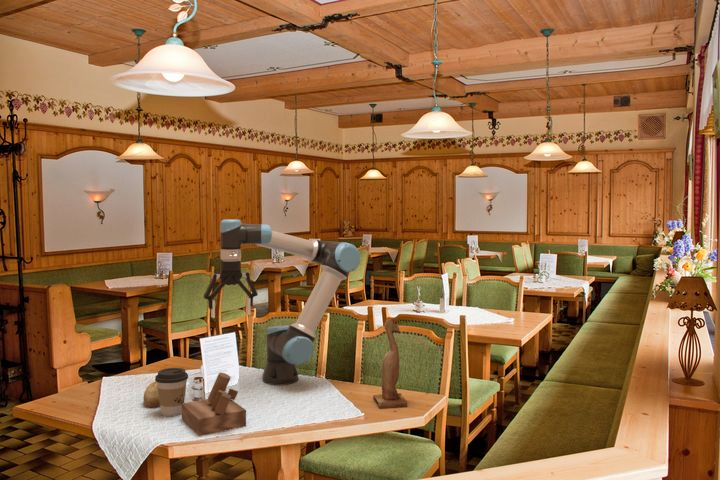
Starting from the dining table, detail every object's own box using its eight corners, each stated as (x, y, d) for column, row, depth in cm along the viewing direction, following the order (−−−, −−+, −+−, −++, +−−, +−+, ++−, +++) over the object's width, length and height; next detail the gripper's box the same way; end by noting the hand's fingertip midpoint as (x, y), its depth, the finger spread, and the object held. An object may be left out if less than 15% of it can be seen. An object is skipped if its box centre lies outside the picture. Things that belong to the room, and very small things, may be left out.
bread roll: (179, 396, 229) (179, 375, 229) (164, 409, 214) (164, 387, 214) (155, 395, 230) (154, 375, 229) (138, 408, 215) (138, 387, 215)
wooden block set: (226, 422, 193) (238, 393, 193) (201, 412, 192) (213, 383, 192) (233, 401, 211) (244, 375, 210) (210, 392, 210) (222, 366, 209)
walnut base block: (226, 412, 213) (225, 395, 213) (246, 427, 198) (246, 410, 198) (181, 420, 204) (181, 403, 204) (199, 437, 190) (199, 419, 189)
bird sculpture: (409, 407, 219) (412, 321, 218) (378, 409, 216) (382, 322, 215) (399, 398, 230) (402, 316, 229) (370, 399, 227) (373, 316, 226)
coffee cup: (175, 420, 203) (174, 377, 202) (148, 416, 207) (147, 373, 206) (195, 409, 214) (195, 368, 213) (169, 405, 218) (168, 365, 217)
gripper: (199, 262, 215) (199, 320, 216) (265, 260, 226) (265, 315, 228) (195, 260, 222) (195, 316, 223) (259, 258, 233) (259, 312, 234)
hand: (231, 316), depth 225 cm, fingers open, 13 cm apart
